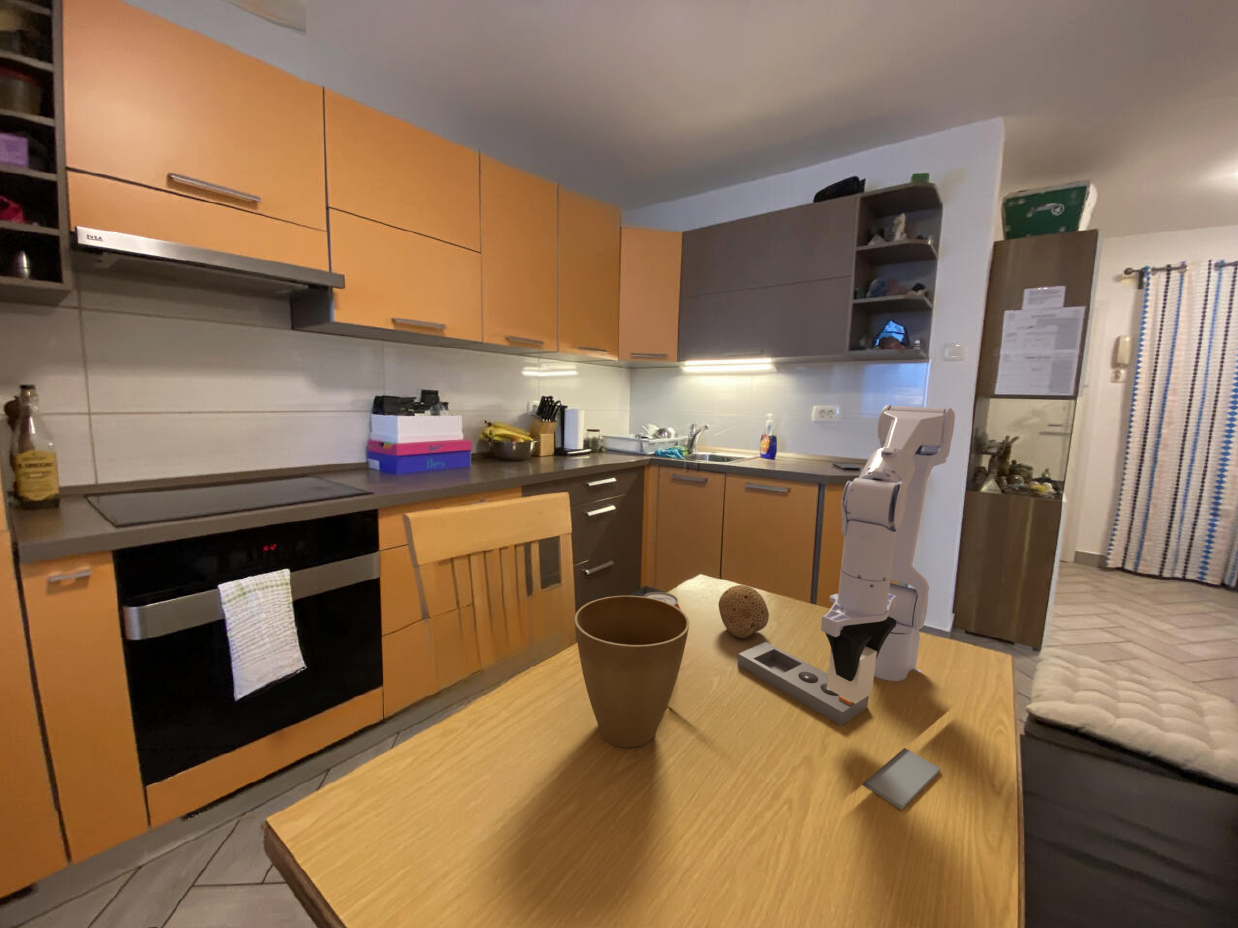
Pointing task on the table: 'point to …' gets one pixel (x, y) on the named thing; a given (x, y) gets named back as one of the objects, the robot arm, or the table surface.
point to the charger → (861, 681)
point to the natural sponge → (743, 611)
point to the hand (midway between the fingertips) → (854, 671)
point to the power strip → (799, 681)
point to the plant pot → (630, 663)
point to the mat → (902, 778)
